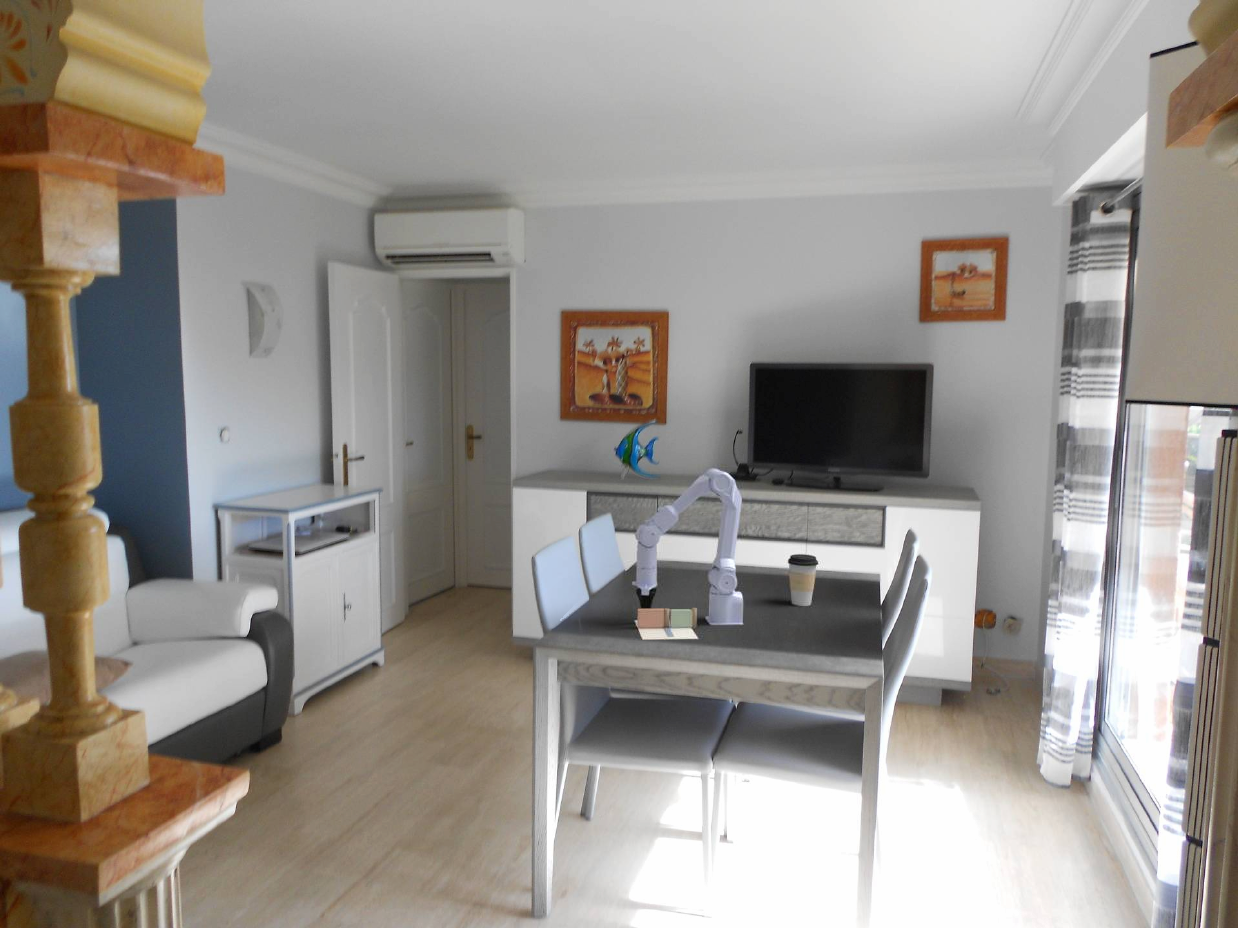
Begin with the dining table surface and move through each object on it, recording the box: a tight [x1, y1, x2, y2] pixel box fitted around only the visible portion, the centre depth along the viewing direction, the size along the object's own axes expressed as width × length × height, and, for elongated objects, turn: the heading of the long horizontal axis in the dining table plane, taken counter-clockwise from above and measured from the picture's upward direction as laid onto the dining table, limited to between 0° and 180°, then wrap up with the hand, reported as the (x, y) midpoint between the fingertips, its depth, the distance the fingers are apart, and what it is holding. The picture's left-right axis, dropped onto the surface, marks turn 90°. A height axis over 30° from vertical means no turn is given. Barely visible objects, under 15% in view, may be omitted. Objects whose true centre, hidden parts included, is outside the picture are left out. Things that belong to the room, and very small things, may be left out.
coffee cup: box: [787, 553, 819, 607], centre depth 275 cm, size 9×9×15 cm
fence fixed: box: [669, 607, 698, 629], centre depth 246 cm, size 7×2×5 cm, turn 96°
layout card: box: [634, 619, 699, 641], centre depth 244 cm, size 15×19×1 cm
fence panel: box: [637, 607, 670, 629], centre depth 245 cm, size 9×2×5 cm, turn 96°
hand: (645, 614), depth 250 cm, fingers closed
